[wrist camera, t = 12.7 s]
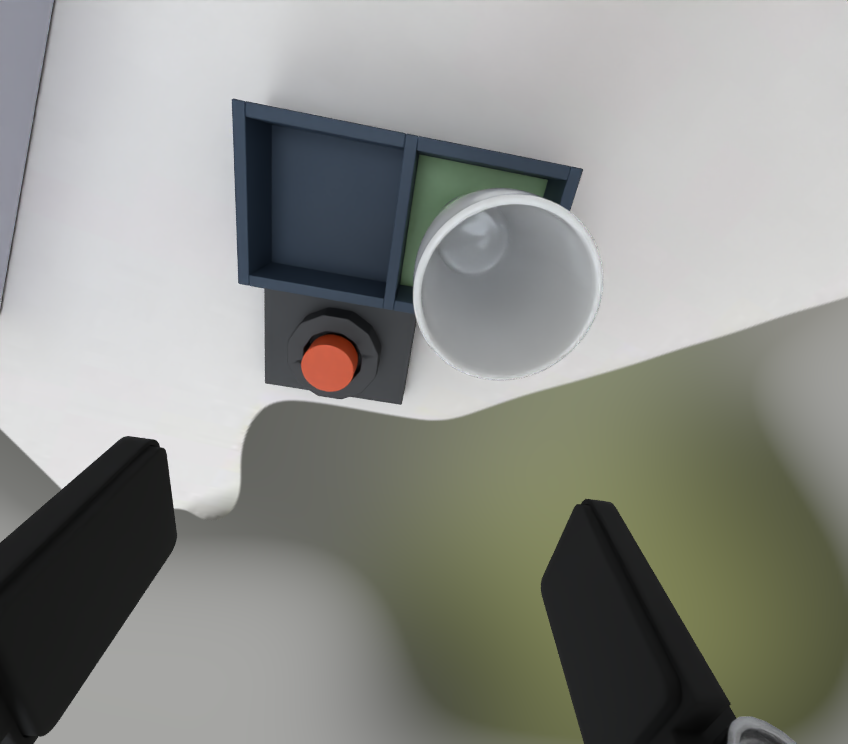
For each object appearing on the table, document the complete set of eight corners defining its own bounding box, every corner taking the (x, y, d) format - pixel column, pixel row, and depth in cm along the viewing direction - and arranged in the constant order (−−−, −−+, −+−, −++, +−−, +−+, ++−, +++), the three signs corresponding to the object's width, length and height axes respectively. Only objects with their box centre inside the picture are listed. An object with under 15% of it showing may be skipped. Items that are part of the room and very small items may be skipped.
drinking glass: (541, 232, 27) (648, 293, 14) (469, 303, 29) (501, 414, 16) (470, 155, 25) (515, 139, 12) (400, 238, 27) (370, 303, 14)
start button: (360, 338, 28) (356, 349, 27) (355, 382, 30) (351, 395, 28) (309, 329, 28) (301, 340, 26) (307, 374, 30) (300, 387, 28)
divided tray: (559, 169, 26) (583, 168, 22) (517, 312, 31) (531, 334, 26) (264, 110, 25) (231, 98, 21) (265, 268, 29) (237, 284, 25)
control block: (418, 304, 30) (416, 320, 27) (402, 394, 34) (400, 417, 31) (272, 279, 30) (253, 292, 27) (272, 373, 33) (255, 394, 30)
